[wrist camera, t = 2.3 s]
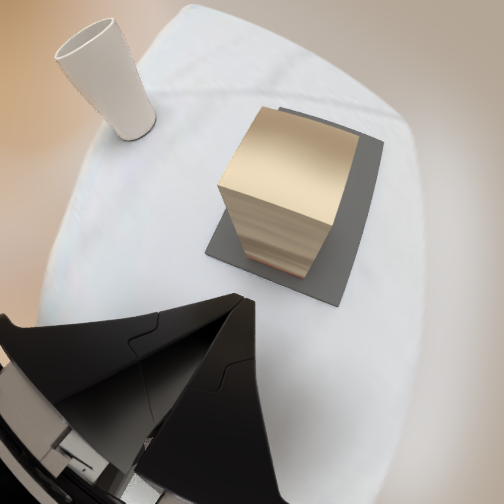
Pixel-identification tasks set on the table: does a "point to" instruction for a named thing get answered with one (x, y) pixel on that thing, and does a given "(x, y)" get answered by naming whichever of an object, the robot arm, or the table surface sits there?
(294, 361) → the table surface
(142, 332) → the robot arm
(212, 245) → the mat
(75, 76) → the drinking glass
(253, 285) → the table surface
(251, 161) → the block
